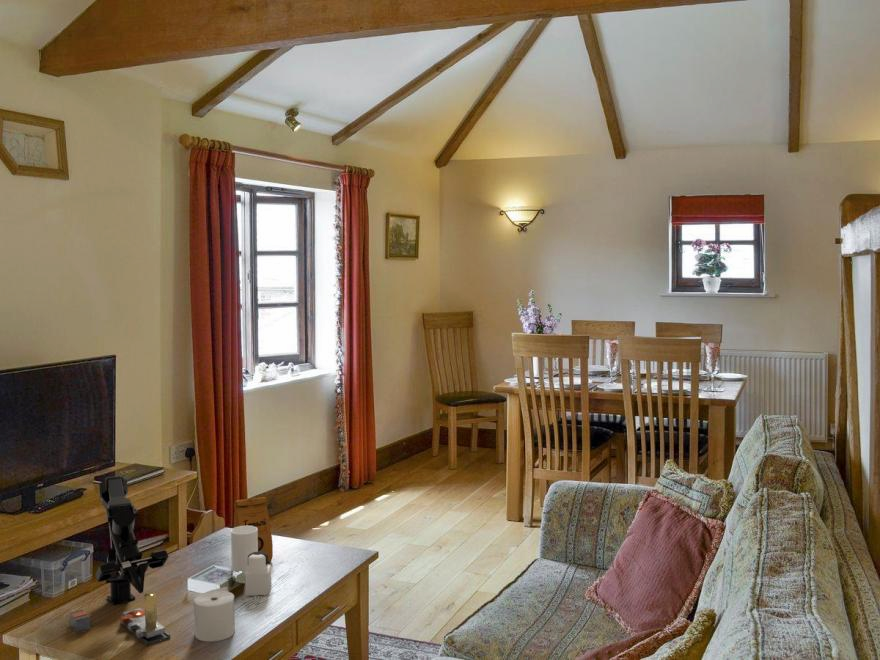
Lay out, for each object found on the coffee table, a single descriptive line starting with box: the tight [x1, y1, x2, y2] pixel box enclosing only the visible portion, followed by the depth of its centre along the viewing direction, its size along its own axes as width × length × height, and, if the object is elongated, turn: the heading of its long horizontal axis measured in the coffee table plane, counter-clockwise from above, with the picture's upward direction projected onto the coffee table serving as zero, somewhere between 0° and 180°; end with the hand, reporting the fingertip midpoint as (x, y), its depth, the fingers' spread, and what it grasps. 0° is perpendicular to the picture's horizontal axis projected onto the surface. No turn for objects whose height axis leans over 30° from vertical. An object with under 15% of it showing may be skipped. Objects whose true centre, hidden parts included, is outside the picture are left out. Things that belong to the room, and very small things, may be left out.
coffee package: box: [233, 496, 274, 563], centre depth 283 cm, size 10×12×22 cm
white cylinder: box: [230, 526, 258, 580], centre depth 269 cm, size 8×8×16 cm
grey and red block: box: [68, 609, 91, 635], centre depth 234 cm, size 6×4×4 cm, turn 41°
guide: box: [120, 622, 171, 646], centre depth 233 cm, size 18×7×1 cm, turn 41°
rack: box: [119, 591, 166, 639], centre depth 232 cm, size 17×7×10 cm, turn 41°
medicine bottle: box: [244, 551, 272, 597], centre depth 259 cm, size 7×7×12 cm
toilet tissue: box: [193, 586, 236, 643], centre depth 231 cm, size 11×12×10 cm
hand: (141, 592), depth 231 cm, fingers closed
